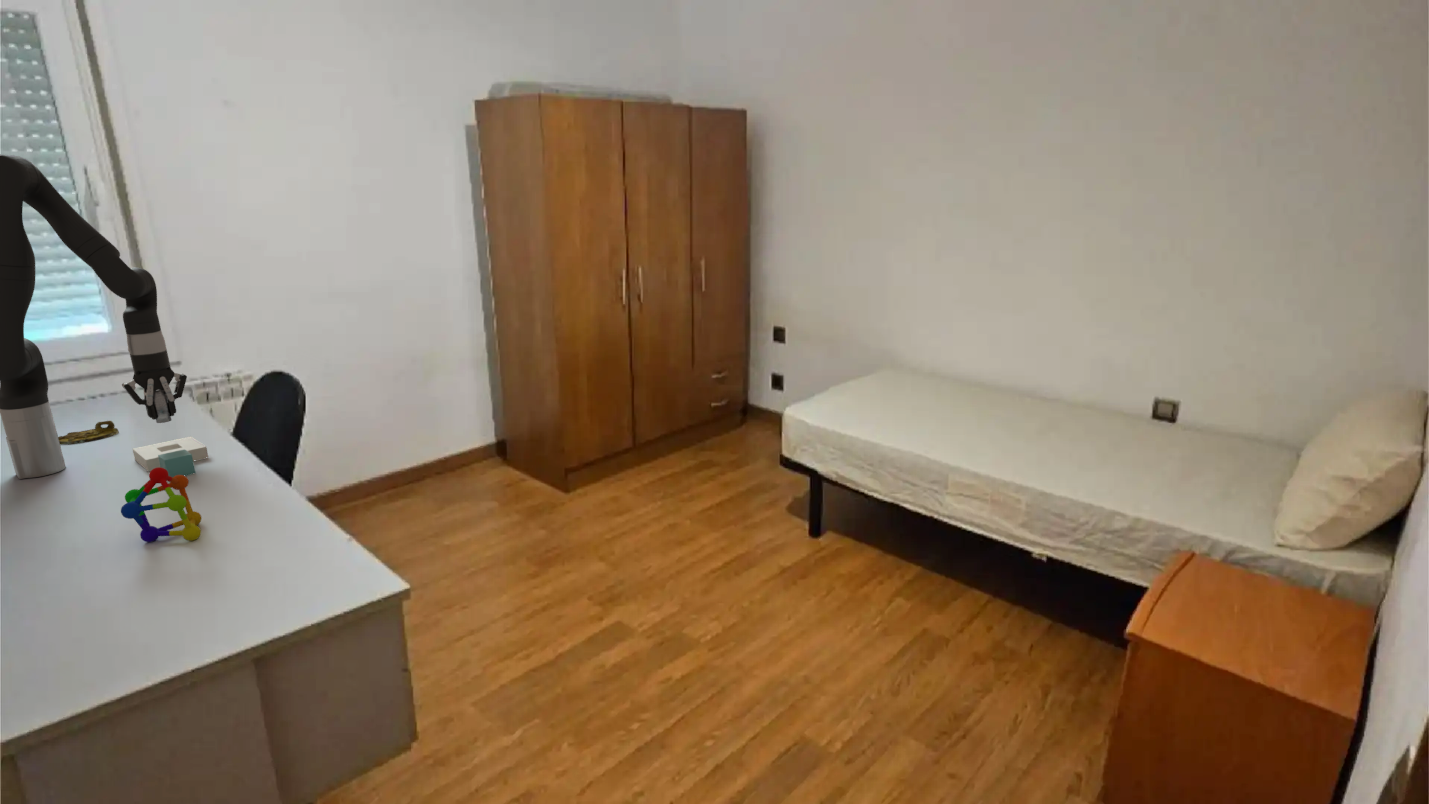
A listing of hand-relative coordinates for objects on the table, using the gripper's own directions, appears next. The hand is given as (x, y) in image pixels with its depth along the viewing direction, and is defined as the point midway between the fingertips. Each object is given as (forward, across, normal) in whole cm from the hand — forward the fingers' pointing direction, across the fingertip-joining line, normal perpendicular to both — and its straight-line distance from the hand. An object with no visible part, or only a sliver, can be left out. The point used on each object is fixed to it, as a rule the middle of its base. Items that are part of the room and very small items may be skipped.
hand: (163, 416), depth 197 cm
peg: (+1, 0, 0) cm, 1 cm away
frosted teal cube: (+11, -2, -14) cm, 18 cm away
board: (+11, 0, 0) cm, 11 cm away
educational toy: (+12, -14, -55) cm, 58 cm away
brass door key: (+12, -11, +40) cm, 43 cm away
